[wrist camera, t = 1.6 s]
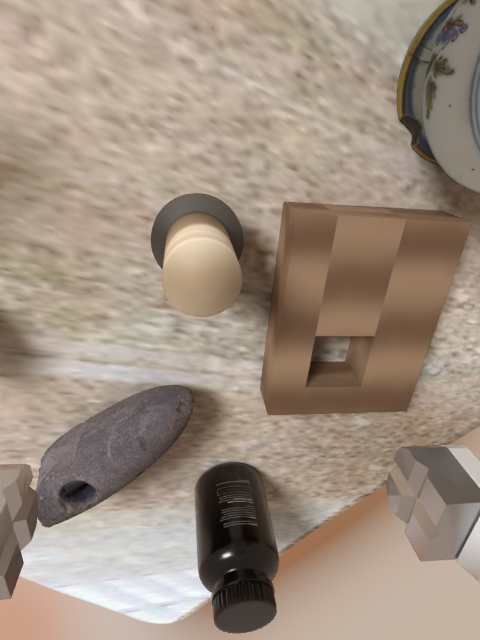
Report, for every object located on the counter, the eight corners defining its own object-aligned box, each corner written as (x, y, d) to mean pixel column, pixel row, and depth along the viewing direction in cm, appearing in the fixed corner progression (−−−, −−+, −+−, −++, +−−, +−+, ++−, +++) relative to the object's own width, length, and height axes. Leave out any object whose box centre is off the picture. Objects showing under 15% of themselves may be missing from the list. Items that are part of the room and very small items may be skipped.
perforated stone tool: (175, 354, 32) (173, 411, 26) (210, 395, 35) (216, 456, 29) (31, 439, 34) (-2, 510, 28) (73, 472, 37) (52, 544, 31)
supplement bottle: (180, 493, 40) (180, 631, 29) (221, 450, 38) (237, 581, 27) (234, 514, 42) (252, 648, 32) (275, 475, 40) (308, 604, 30)
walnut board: (283, 201, 28) (296, 213, 24) (441, 210, 29) (471, 222, 26) (260, 388, 35) (267, 415, 32) (387, 385, 37) (406, 411, 34)
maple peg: (153, 181, 26) (139, 219, 17) (238, 187, 27) (267, 224, 18) (155, 263, 28) (143, 332, 20) (233, 265, 29) (255, 332, 20)
